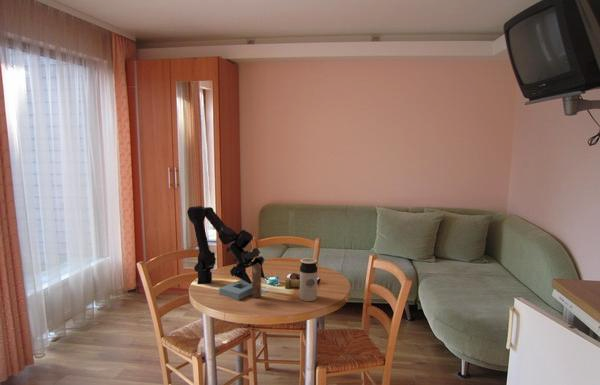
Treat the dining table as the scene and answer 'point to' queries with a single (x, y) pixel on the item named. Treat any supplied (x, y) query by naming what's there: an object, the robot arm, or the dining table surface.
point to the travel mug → (308, 279)
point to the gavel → (292, 282)
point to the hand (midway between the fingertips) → (257, 280)
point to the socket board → (236, 290)
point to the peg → (256, 280)
